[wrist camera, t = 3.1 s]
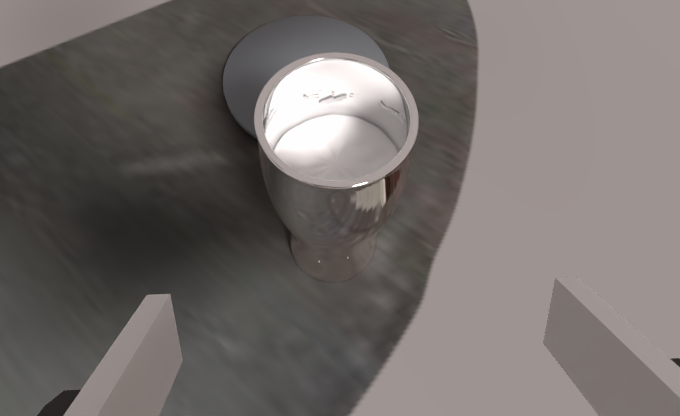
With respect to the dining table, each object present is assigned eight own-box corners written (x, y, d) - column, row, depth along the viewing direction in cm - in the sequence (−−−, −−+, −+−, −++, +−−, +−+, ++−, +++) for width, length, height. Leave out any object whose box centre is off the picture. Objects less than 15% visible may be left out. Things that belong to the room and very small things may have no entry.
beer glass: (269, 220, 31) (222, 80, 17) (354, 184, 32) (373, 28, 19) (308, 306, 29) (290, 222, 15) (398, 263, 30) (458, 150, 16)
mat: (206, 141, 34) (204, 136, 33) (244, 14, 39) (242, 7, 39) (382, 162, 33) (383, 157, 33) (394, 31, 39) (395, 24, 38)
